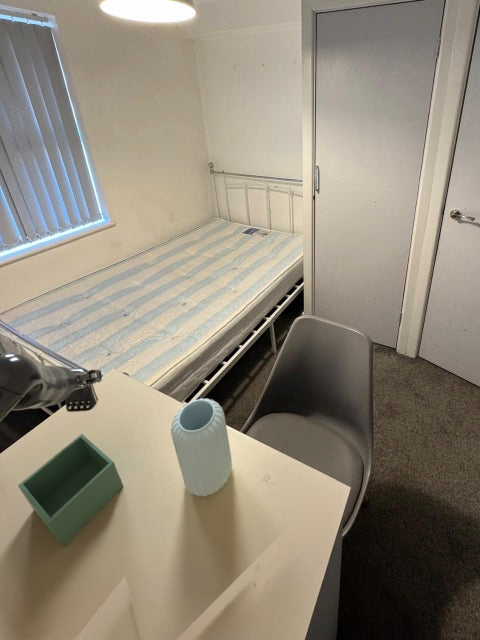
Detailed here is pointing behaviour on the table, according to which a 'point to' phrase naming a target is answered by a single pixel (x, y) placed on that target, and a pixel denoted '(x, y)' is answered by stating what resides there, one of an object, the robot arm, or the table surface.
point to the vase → (202, 446)
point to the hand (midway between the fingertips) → (75, 384)
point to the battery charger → (81, 396)
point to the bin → (72, 488)
